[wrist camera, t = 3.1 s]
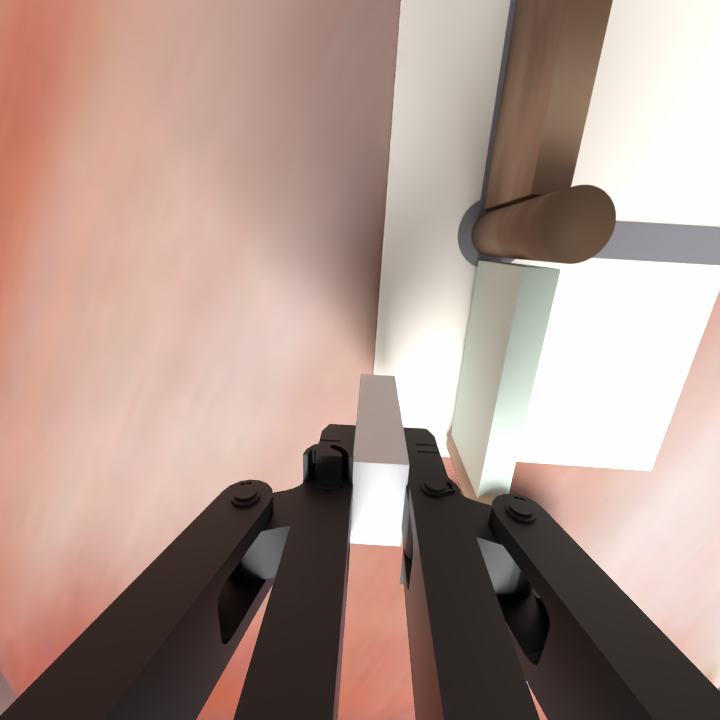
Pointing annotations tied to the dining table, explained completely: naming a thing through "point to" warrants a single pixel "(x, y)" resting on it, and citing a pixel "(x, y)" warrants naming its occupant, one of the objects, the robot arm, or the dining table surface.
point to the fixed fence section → (546, 139)
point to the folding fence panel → (498, 373)
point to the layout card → (576, 281)
